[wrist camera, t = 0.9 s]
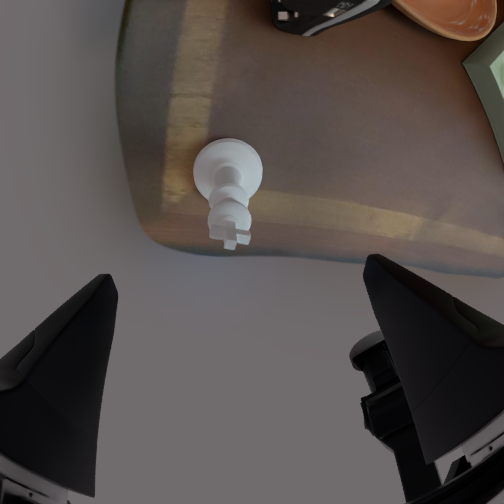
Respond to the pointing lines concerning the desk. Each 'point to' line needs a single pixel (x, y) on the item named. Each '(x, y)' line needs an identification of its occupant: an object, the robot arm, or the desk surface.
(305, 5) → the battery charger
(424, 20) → the saucer
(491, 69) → the compartment tray
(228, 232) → the chess piece
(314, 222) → the desk surface
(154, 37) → the desk surface
